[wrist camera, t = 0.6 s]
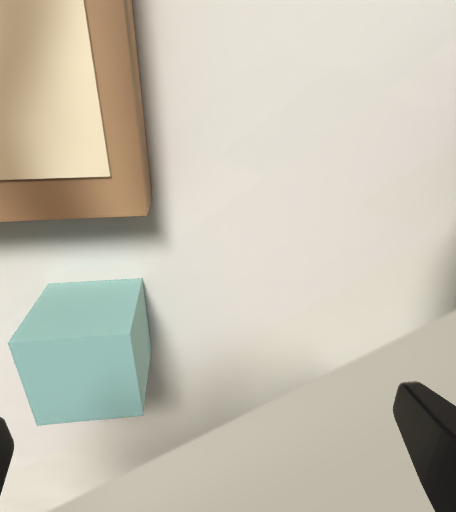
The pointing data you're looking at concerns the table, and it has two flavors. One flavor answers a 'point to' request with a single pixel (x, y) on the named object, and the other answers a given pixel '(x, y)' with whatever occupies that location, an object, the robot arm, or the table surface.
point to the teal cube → (85, 351)
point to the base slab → (71, 112)
